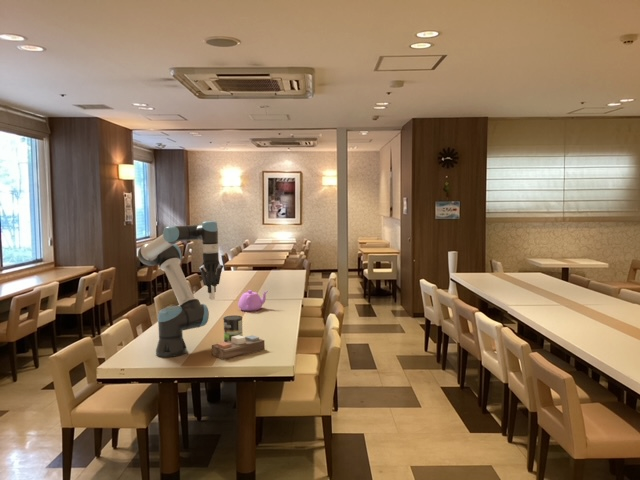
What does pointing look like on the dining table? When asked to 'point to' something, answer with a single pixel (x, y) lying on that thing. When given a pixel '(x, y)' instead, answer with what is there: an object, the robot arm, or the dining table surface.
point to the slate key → (251, 338)
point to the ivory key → (238, 339)
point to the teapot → (251, 301)
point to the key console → (238, 349)
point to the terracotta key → (223, 345)
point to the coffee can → (232, 327)
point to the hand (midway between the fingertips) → (212, 299)
